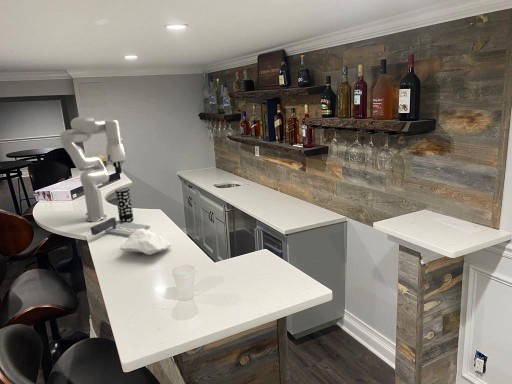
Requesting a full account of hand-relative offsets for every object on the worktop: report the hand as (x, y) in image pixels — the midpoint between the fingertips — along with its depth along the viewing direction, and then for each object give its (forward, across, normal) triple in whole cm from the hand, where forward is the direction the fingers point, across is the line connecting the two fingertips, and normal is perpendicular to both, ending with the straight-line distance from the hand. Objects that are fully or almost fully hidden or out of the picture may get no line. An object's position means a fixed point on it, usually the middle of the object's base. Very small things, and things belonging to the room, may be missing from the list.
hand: (118, 173), depth 225 cm
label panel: (+32, +6, +8) cm, 34 cm away
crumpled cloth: (+32, +25, +41) cm, 58 cm away
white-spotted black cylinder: (+32, -7, -7) cm, 34 cm away
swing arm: (+29, +17, +2) cm, 33 cm away
